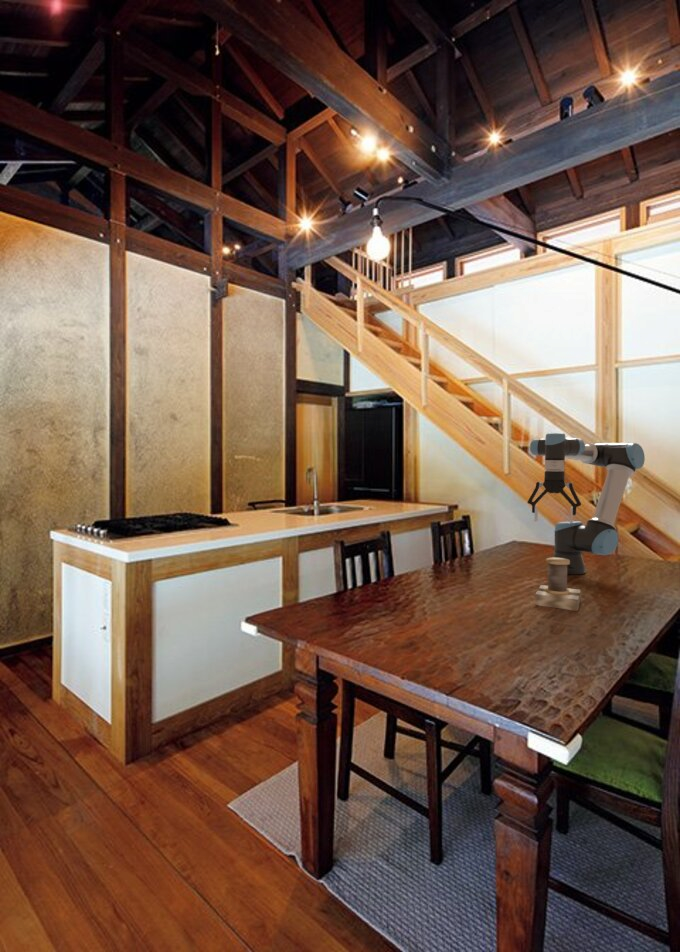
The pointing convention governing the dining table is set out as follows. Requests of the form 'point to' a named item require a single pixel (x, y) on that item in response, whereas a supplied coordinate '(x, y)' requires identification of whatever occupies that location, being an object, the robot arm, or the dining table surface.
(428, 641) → the dining table surface
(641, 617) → the dining table surface
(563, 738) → the dining table surface
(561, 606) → the slotted stand
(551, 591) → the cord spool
